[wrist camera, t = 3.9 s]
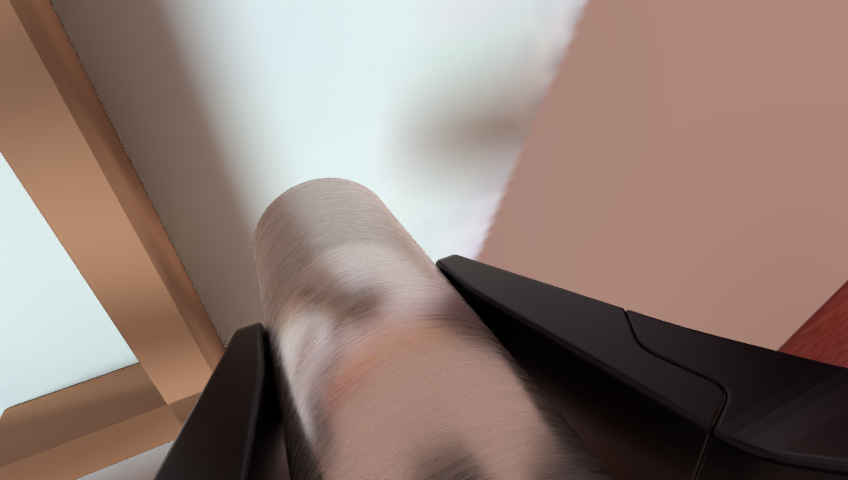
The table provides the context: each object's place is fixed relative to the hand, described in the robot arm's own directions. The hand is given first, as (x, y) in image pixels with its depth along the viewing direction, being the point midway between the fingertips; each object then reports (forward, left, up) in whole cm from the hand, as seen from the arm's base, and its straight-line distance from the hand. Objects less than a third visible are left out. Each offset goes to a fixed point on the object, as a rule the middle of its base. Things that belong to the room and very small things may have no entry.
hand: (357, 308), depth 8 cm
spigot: (0, 0, -3) cm, 3 cm away
